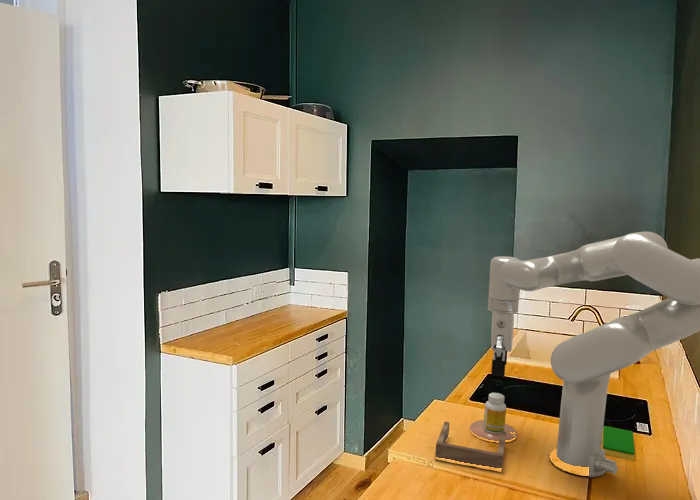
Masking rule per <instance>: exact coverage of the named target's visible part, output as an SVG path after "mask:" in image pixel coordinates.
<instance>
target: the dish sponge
mask: <svg viewBox="0 0 700 500" xmlns="http://www.w3.org/2000/svg"><path fill="white" fill-rule="evenodd" d="M601 449H603V450H605V456H606V455H607V456H610V457H614V458H619V459H623V460H629V461H635V454H636V452H635V439H634V431H632V430H627V429H623V428H617V427H612V426H608V425H603V434H602V444H601Z"/></svg>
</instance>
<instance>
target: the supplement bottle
mask: <svg viewBox="0 0 700 500" xmlns="http://www.w3.org/2000/svg"><path fill="white" fill-rule="evenodd" d="M487 398H488V400H487V401H486V402H485V404H484V414H483V417H484V418H483V420H484V424H483V428H484V430H485V431H486V432H488V433H491V434H501V431H503V432H504V427H505V424H506V414H507V406H506V403H505V398H506V397H505V395H503V394H502V393H501V392H500V393H499V392H491V393H489V394H488V397H487Z"/></svg>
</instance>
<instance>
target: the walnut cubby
mask: <svg viewBox="0 0 700 500" xmlns="http://www.w3.org/2000/svg"><path fill="white" fill-rule="evenodd" d="M449 432H450V422H449V421H444V423H443V425H442V427H441V430H440V433H439V436H438V438H437V440H436V443H435V453H434V456H435V457H438V458H445V459H451V460H455V461H459V462H464V463H470V464H476V465H482V466H489V467H494V468H502V469H503V466H504V458H503V456H505V449H506V448H505V447H506V443H505V437H506V432H503V431H501V434H500V441H499V444H498V449H497V452H495V451H491V450H490V451H489V450H484V449H480V448H479V449H478V448H473V447H467V446H461V445H458V444H457V445H456V444H451V443H446V440H447V438H448V439H449V437H448V435H450V434H449ZM447 441H448V440H447ZM504 448H505V449H504ZM435 457H434V458H435ZM502 465H503V466H502Z"/></svg>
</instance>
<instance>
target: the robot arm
mask: <svg viewBox="0 0 700 500" xmlns="http://www.w3.org/2000/svg"><path fill="white" fill-rule="evenodd" d="M489 265H490V267H489V281H488V299H487V301H488V302H487V311H490V312H492V315H491V328H490V329H491V331H490V332H491V334H490V335H491V336H490V338H491V340H490V341H491V345H490V346H491V350H492V351H493V356H492V359H491V376H496V377H505V374H506V365H507V359H508V353H511V352H512V350H513V349H512V348H513V339H514V338H513V337H514V336H513V335H514V321H515V320H514V319H515V318H514V317H515V314H517V313H519V302H520V301H519V300H520V290H521V291H525V292H534V291H538V290H541V289H545V288H550V287H555V286H559V285H564V284H570V283H574V282H575V283H577V282H580V281H589V282H598V281H602V280H608V279H612V278H617V277H623V276H629V277H631V278H632V279H634V280H636V281H637V282H639V283H640V284H643V285H645V286H647V287H648V288H650V289H652V290H653V291H655V292H658V294H661V295H663V296H665V297H666V299H664V300H662V301H660V302H658V303H656V304H653V305H652V306H649V307H646V308H644V309H641V310H639V311H637V312H634V313H631V314H629V315H624V316H621V317H617V318H615V319H613V320H611V321H609V322H606V323H604V324H602V325H600V326H597V327H595V328H592V329H590V330H588V331H586V332H582V333H579V334H576V335H574V336H573V337H572V336H571V337H570V338H569V339H566V340H564V341H562V342H560V343H558V344H557V345H556V347H554V349H553V350H552V352H551V355H550V366H551V370H552V372H553V373H554V375H555V376H556V377H557V378H558V379H560V380H561V381H563V384H562V391H561V393H562V394H561V400H560V411H559V421H558V422H559V423H558V434H557V435H558V436H557V444H556V448H557V453H556V454H557V457H558V458H559V459H560V460H561V461H563V462H564V463H567V464H570V465H573V466H581V467H589V477H588V478H596V477H600V476H603V475H604V474H606V472H608V473H610V474H613V475H616V474H617V472H618V466H617V461H615V460H613V459H610V458H607V456H606V455H605V450H603V449H602V443H603V428H604V426H605V425H604V423H605V414H606V405H607V399H608V398H607V396H608V388H609V383H610V377H611V374H613V373H615V372H617V371H621V370H623V369H625V368H628V367H630V366H633V365H634V364H636V363H637V362H639V361H640V360H642V359H644V358H645V357H646V356H648V355H649V354H650V353H652V352H655V351H656V350H658V349H662V348H663V347H666V346H668V345H669V346H670V345H671V344H673V343H675V342H678V341H680V340H682V339H686V338H688V337H690V336H692V335H694V334H696V333H699V332H700V257H699V258H694V259H690V258H687V257H685V256H683V255H682V254H680V253H677V252H675V251H673V250H671V249H670V248H668V244H667V242H666V240H664V238H663V237H662V236H661V235H660V234H658V233H656V232H652V231H639V232H637V231H636V232H631V233H628V234H625V235H623V236H619V237H614V238H609V239H604V240H601V241H597V242H592V243H587V244H585V245H582V246H580V247H579V248H578V249H575V250H571V251H567V252H564V253H558V254H554V255H549V256H545V257H538V258H533V259H532V258H531V259H527V260H520V259H519V258H517V257H513V256H506V255H504V256H494V257H492V259H491V260H490V264H489Z"/></svg>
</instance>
